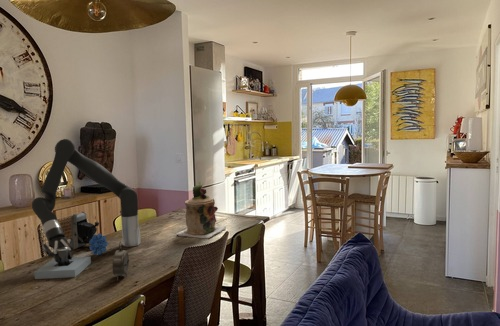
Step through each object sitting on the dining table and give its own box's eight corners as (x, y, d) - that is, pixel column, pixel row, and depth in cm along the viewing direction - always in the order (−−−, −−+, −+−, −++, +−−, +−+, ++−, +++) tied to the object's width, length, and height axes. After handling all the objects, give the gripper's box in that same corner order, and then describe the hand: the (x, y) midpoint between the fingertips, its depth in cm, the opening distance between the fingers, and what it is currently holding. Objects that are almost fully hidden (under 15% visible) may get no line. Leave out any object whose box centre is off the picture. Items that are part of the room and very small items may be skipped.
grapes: (113, 253, 198) (112, 231, 197) (105, 257, 191) (103, 235, 190) (96, 251, 201) (94, 230, 200) (87, 256, 195) (85, 233, 194)
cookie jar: (174, 236, 227) (171, 185, 224) (194, 226, 250) (192, 180, 247) (210, 239, 218) (207, 186, 215) (227, 228, 240) (225, 180, 238)
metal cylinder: (71, 265, 177) (69, 245, 176) (66, 269, 172) (65, 248, 171) (61, 266, 176) (59, 245, 176) (56, 270, 172) (54, 249, 171)
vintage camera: (95, 250, 205) (94, 215, 204) (71, 249, 208) (70, 214, 207) (105, 245, 215) (105, 212, 213) (82, 244, 218) (81, 211, 216)
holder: (90, 263, 183) (90, 256, 183) (75, 277, 165) (74, 269, 165) (54, 264, 183) (53, 258, 182) (34, 279, 165) (34, 271, 165)
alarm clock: (119, 272, 169) (117, 238, 167) (131, 272, 169) (129, 237, 168) (112, 282, 158) (110, 245, 156) (125, 281, 158) (123, 244, 157)
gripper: (38, 230, 172) (50, 260, 165) (70, 223, 183) (82, 251, 176) (36, 239, 176) (47, 268, 169) (67, 232, 187) (78, 260, 180)
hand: (64, 260), depth 172 cm, fingers closed on metal cylinder, 5 cm apart
